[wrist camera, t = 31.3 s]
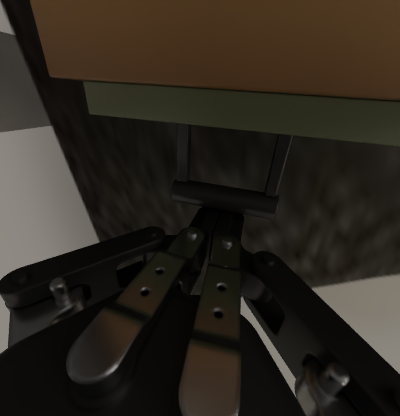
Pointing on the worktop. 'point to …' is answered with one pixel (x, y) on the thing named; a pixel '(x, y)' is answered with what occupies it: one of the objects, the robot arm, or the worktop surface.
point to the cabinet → (227, 44)
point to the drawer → (245, 128)
